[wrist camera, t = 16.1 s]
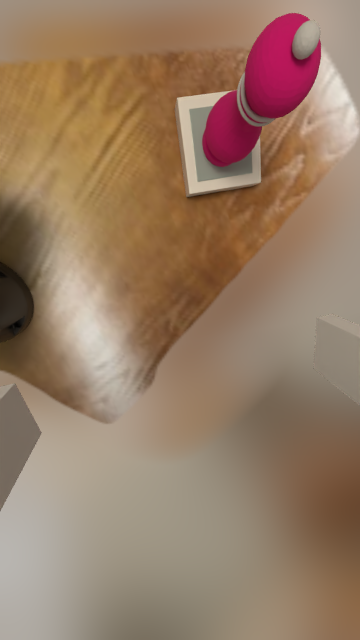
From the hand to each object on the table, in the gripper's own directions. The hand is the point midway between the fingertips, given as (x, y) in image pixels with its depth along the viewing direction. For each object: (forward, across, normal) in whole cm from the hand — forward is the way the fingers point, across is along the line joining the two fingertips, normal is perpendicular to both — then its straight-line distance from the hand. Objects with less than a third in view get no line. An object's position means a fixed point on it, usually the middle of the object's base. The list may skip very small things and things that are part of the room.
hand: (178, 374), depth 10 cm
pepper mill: (+32, +14, +17) cm, 38 cm away
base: (+35, +14, +17) cm, 41 cm away
